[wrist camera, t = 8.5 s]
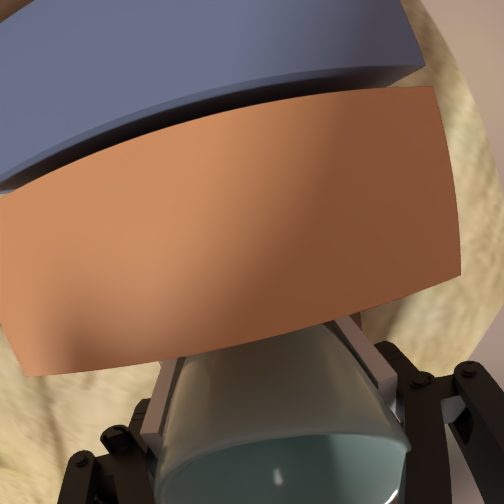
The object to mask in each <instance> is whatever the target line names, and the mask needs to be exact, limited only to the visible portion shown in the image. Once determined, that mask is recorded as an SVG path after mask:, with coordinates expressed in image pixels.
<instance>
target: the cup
mask: <svg viewBox="0 0 504 504" xmlns="http://www.w3.org/2000/svg"><path fill="white" fill-rule="evenodd" d="M410 451H411V444H410V441H409V439H408V437H407V435H406V433H405V431H404V429H403V427H402V426H401V424H400V422H399V420H398V419H397V417H396V416H395V414H394V413H393V411H392V410H391V408H390V407H389V405H388V403H387V402H386V400H385V399H384V397H383V396H382V395H381V393H380V392H379V390H378V389H377V387H376V386H375V384H374V383H373V381H372V380H371V378H370V377H369V376H368V374H367V373H366V371H365V370H364V369H363V367H362V366H361V365H360V363H359V362H358V361H357V359H356V358H355V357H354V356H353V354H352V353H351V352H350V351H349V350H348V348H347V347H346V346H345V345H344V344H343V342H342V341H341V340H340V339H339V338H338V337H337V336H336V335H335V333H334V332H333V331H331V330H330V329H329V328H328V327H327V326H326V325H324V324H323V323H321V324H317V325H314V326H310V327H307V328H303V329H299V330H296V331H292V332H288V333H285V334H281V335H277V336H273V337H269V338H265V339H261V340H257V341H253V342H248V343H244V344H240V345H236V346H231V347H227V348H222V349H217V350H213V351H208V352H203V353H198V354H193V355H188V356H186V358H185V360H184V363H183V365H182V368H181V370H180V373H179V376H178V379H177V381H176V385H175V388H174V392H173V395H172V399H171V403H170V406H169V410H168V414H167V419H166V423H165V427H164V431H163V436H162V440H161V445H160V450H159V455H158V460H157V466H156V471H155V478H154V488H153V491H154V499H155V503H156V504H390V503H391V502H392V501H393V500H394V499H395V497H396V496H397V495H398V493H399V487H400V481H401V474H402V469H403V463H404V459H405V454H406V453H407V452H410Z"/></svg>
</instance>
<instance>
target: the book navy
mask: <svg viewBox="0 0 504 504" xmlns="http://www.w3.org/2000/svg"><path fill="white" fill-rule="evenodd" d="M425 66H426V65H425V62H424V59H423V56H422V53H421V51H420V48H419V45H418V43H417V40H416V38H415V35H414V33H413V30H412V28H411V26H410V23H409V21H408V19H407V16H406V14H405V12H404V10H403V8H402V6H401V3H400V1H399V0H34V1H33V2H31V3H30V4H28V5H26V6H25V7H23V8H22V9H20V10H19V11H17V12H16V13H14V14H13V15H11V16H10V17H9V18H7V19H6V20H4V21H3V22H2V23H0V194H5V193H11V192H13V191H14V190H16V189H18V188H20V187H22V186H24V185H26V184H28V183H30V182H32V181H34V180H36V179H38V178H40V177H42V176H44V175H46V174H48V173H50V172H53V171H55V170H57V169H59V168H61V167H63V166H66V165H68V164H70V163H73V162H75V161H77V160H79V159H82V158H84V157H87V156H89V155H92V154H94V153H96V152H99V151H102V150H104V149H107V148H109V147H112V146H115V145H117V144H120V143H123V142H125V141H128V140H131V139H134V138H137V137H140V136H143V135H146V134H149V133H152V132H155V131H158V130H161V129H164V128H167V127H171V126H174V125H177V124H181V123H184V122H188V121H191V120H195V119H199V118H202V117H206V116H210V115H214V114H218V113H222V112H226V111H230V110H235V109H239V108H244V107H248V106H253V105H258V104H263V103H268V102H273V101H279V100H284V99H290V98H296V97H303V96H309V95H316V94H324V93H332V92H340V91H350V90H361V89H373V88H385V87H387V86H389V85H391V84H393V83H395V82H396V81H398V80H400V79H402V78H404V77H406V76H407V75H409V74H411V73H413V72H415V71H417V70H419V69H421V68H423V67H425Z"/></svg>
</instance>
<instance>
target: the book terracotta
mask: <svg viewBox="0 0 504 504" xmlns="http://www.w3.org/2000/svg"><path fill="white" fill-rule="evenodd" d="M460 275H461V255H460V236H459V222H458V212H457V203H456V194H455V187H454V180H453V173H452V167H451V162H450V156H449V151H448V146H447V141H446V136H445V132H444V127H443V123H442V119H441V115H440V111H439V107H438V104H437V100H436V96H435V93H434V90H433V86H418V87H389V88H373V89H361V90H350V91H340V92H332V93H324V94H316V95H309V96H303V97H296V98H290V99H284V100H279V101H273V102H268V103H263V104H258V105H253V106H248V107H244V108H239V109H235V110H230V111H226V112H222V113H218V114H214V115H210V116H206V117H202V118H199V119H195V120H191V121H188V122H184V123H181V124H177V125H174V126H171V127H167V128H164V129H161V130H158V131H155V132H152V133H149V134H146V135H143V136H140V137H137V138H134V139H131V140H128V141H125V142H123V143H120V144H117V145H115V146H112V147H109V148H107V149H104V150H102V151H99V152H96V153H94V154H92V155H89V156H87V157H84V158H82V159H79V160H77V161H75V162H73V163H70V164H68V165H66V166H63V167H61V168H59V169H57V170H55V171H53V172H50V173H48V174H46V175H44V176H42V177H40V178H38V179H36V180H34V181H32V182H30V183H28V184H26V185H24V186H22V187H20V188H18V189H16V190H14V191H13V192H11V193H9V194H7V195H5V196H3V197H2V198H0V323H1V326H2V328H3V330H4V333H5V335H6V337H7V339H8V341H9V343H10V345H11V348H12V350H13V352H14V354H15V356H16V358H17V360H18V362H19V364H20V365H21V367H22V369H23V371H24V373H25V375H26V377H31V376H44V375H56V374H67V373H76V372H85V371H94V370H102V369H109V368H116V367H123V366H130V365H137V364H143V363H149V362H155V361H161V360H167V359H172V358H178V357H183V356H188V355H193V354H198V353H203V352H208V351H213V350H217V349H222V348H227V347H231V346H236V345H240V344H244V343H248V342H253V341H257V340H261V339H265V338H269V337H273V336H277V335H281V334H285V333H288V332H292V331H296V330H299V329H303V328H307V327H310V326H314V325H317V324H321V323H324V322H328V321H331V320H334V319H338V318H341V317H344V316H348V315H351V314H354V313H357V312H360V311H363V310H366V309H370V308H373V307H376V306H379V305H382V304H385V303H388V302H390V301H393V300H396V299H399V298H402V297H405V296H408V295H410V294H413V293H416V292H419V291H421V290H424V289H427V288H429V287H432V286H435V285H437V284H440V283H442V282H445V281H447V280H450V279H452V278H455V277H457V276H460Z"/></svg>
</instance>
